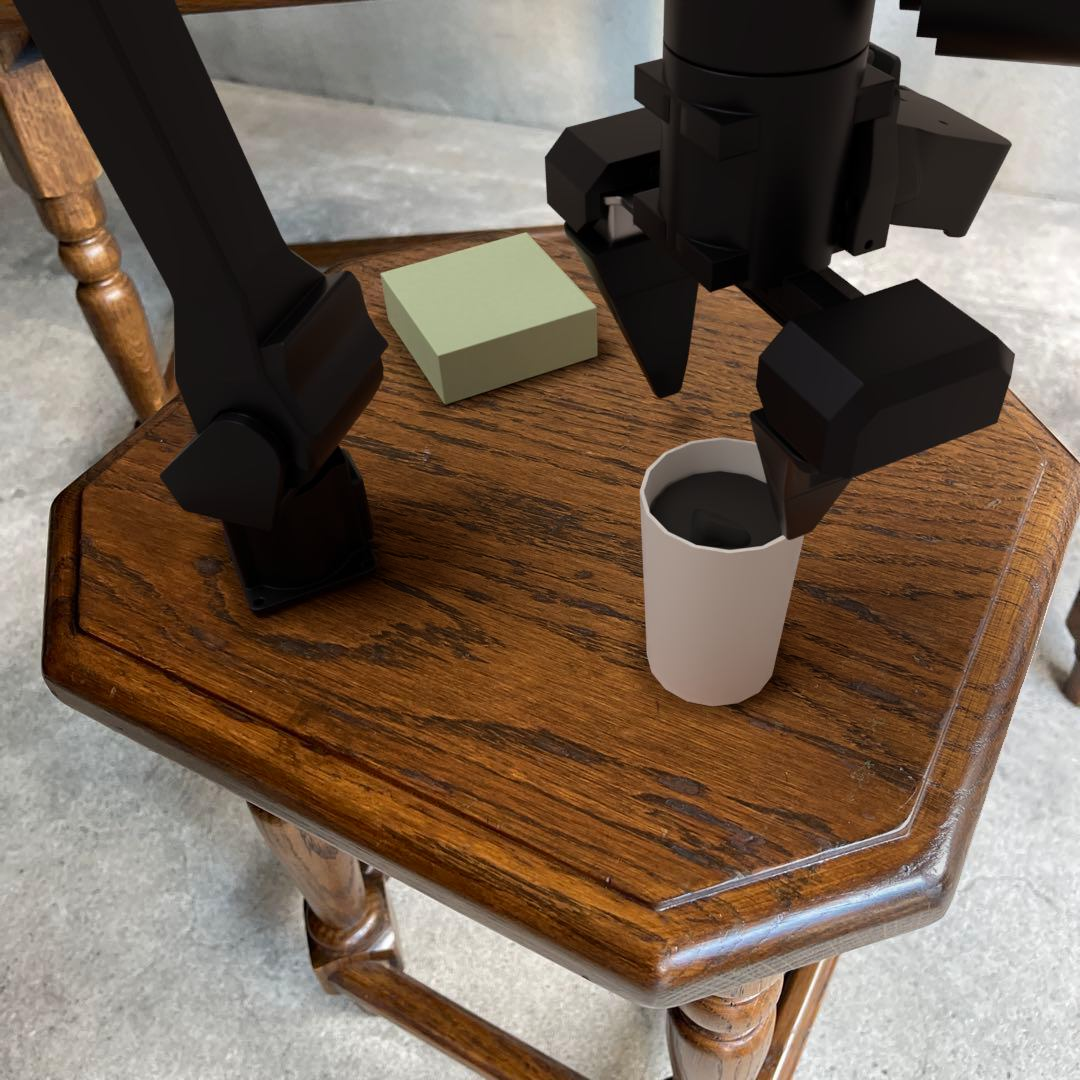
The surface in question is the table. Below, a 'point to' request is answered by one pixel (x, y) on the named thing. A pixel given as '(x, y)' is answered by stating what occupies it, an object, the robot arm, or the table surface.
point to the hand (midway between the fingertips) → (727, 458)
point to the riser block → (489, 316)
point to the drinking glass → (713, 571)
